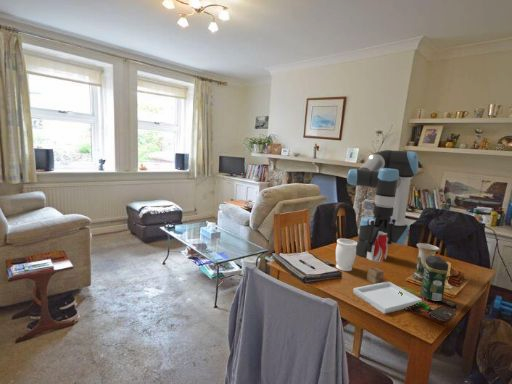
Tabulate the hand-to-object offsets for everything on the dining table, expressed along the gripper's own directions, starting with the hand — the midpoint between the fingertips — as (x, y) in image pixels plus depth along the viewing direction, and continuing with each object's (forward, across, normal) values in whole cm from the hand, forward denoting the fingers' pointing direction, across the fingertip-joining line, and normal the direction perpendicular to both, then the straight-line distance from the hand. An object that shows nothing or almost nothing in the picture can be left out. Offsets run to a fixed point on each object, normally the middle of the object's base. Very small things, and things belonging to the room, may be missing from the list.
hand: (376, 258), depth 121 cm
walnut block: (+18, -14, -11) cm, 25 cm away
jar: (+18, -9, -28) cm, 35 cm away
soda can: (+1, 0, 0) cm, 1 cm away
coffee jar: (+18, -27, +8) cm, 33 cm away
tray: (+18, -6, +3) cm, 19 cm away
